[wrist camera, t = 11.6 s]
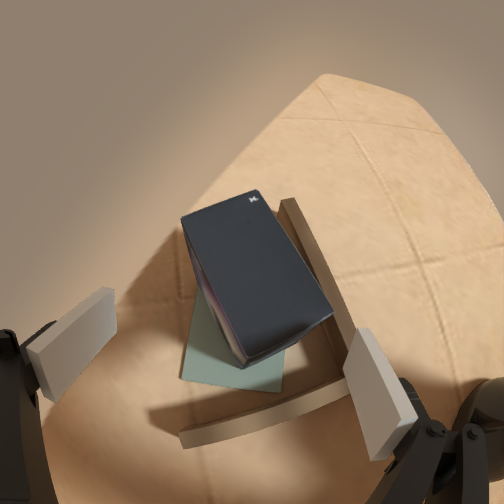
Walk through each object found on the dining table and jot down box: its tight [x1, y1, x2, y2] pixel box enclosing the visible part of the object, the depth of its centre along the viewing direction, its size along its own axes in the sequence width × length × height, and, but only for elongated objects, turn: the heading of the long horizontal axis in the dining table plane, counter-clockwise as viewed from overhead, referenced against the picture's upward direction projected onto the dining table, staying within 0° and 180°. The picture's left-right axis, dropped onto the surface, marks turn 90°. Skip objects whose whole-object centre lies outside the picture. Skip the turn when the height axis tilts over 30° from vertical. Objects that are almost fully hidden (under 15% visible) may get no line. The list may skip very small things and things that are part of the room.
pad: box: [182, 285, 285, 393], centre depth 26 cm, size 9×13×1 cm
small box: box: [180, 189, 334, 370], centre depth 22 cm, size 11×6×10 cm, turn 27°
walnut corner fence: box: [178, 198, 356, 449], centre depth 25 cm, size 17×20×4 cm
